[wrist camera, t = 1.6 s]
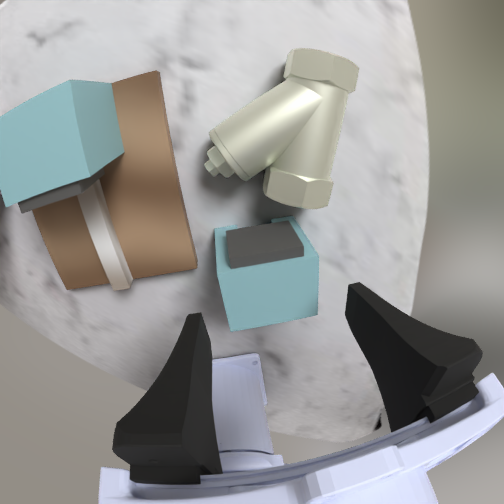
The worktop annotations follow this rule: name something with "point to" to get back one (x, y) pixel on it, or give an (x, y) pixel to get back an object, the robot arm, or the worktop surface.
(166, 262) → the walnut board
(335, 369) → the worktop surface
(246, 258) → the teal and grey block
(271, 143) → the pipe fitting
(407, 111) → the worktop surface
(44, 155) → the mounted teal finger
